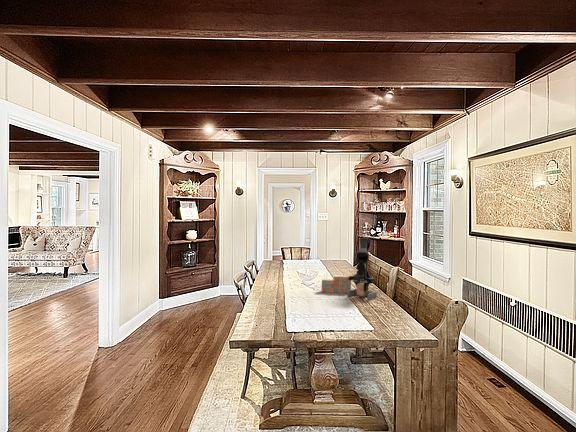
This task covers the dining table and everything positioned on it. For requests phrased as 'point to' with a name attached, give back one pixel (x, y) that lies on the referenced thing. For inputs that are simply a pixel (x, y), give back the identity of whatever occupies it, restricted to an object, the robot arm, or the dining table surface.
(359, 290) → the terracotta block
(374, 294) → the open-fronted box
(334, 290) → the stack of blocks
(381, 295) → the dining table surface
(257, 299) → the dining table surface
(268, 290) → the dining table surface
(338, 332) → the dining table surface
